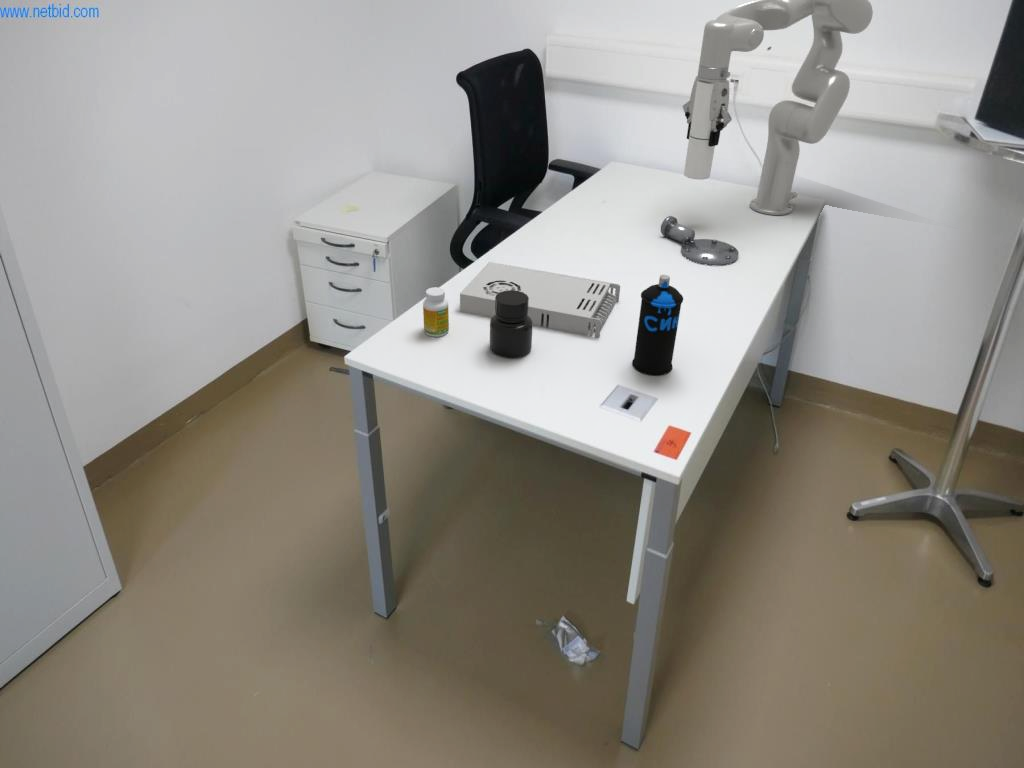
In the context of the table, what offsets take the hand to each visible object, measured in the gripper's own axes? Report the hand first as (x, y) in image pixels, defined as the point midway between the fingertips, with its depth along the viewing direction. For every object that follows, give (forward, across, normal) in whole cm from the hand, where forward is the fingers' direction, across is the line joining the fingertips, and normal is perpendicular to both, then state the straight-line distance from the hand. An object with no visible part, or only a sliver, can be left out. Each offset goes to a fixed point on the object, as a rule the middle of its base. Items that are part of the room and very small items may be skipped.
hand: (702, 141), depth 213 cm
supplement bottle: (+25, -12, +92) cm, 96 cm away
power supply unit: (+25, -15, +66) cm, 72 cm away
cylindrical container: (+9, 0, 0) cm, 9 cm away
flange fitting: (+25, -12, +9) cm, 29 cm away
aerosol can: (+25, -49, +63) cm, 83 cm away
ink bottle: (+25, -27, +83) cm, 91 cm away
